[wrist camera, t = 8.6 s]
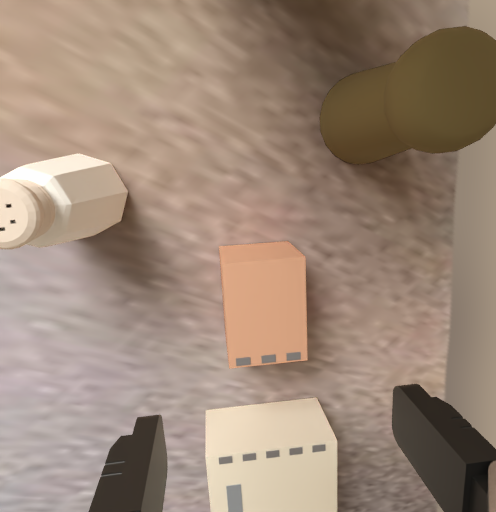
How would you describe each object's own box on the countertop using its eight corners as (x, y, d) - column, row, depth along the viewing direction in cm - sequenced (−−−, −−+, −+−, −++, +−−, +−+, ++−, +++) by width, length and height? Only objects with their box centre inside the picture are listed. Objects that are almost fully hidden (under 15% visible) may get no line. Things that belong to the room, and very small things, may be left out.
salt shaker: (135, 230, 26) (85, 274, 15) (54, 239, 25) (-56, 290, 15) (121, 149, 25) (56, 135, 14) (36, 157, 24) (-98, 148, 14)
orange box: (218, 246, 27) (221, 264, 22) (287, 241, 27) (305, 257, 22) (225, 334, 28) (229, 368, 23) (290, 327, 29) (307, 360, 24)
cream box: (205, 409, 30) (205, 458, 25) (316, 397, 30) (337, 441, 26) (216, 521, 32) (217, 585, 27) (318, 507, 33) (337, 566, 28)
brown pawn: (418, 131, 26) (561, 107, 16) (347, 181, 27) (440, 190, 16) (377, 53, 25) (505, -33, 14) (302, 106, 25) (373, 61, 15)
